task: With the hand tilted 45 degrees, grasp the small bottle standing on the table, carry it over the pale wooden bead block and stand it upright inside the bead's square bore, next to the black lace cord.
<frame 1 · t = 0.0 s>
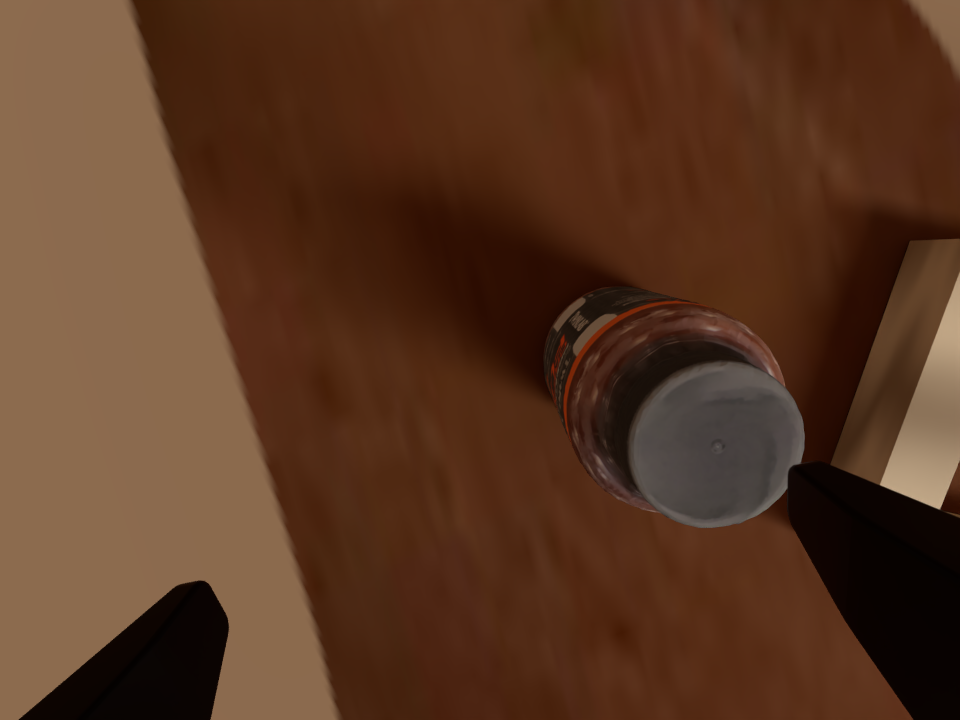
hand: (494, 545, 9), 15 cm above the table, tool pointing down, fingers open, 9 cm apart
supplement bottle: (611, 356, 24), on the table
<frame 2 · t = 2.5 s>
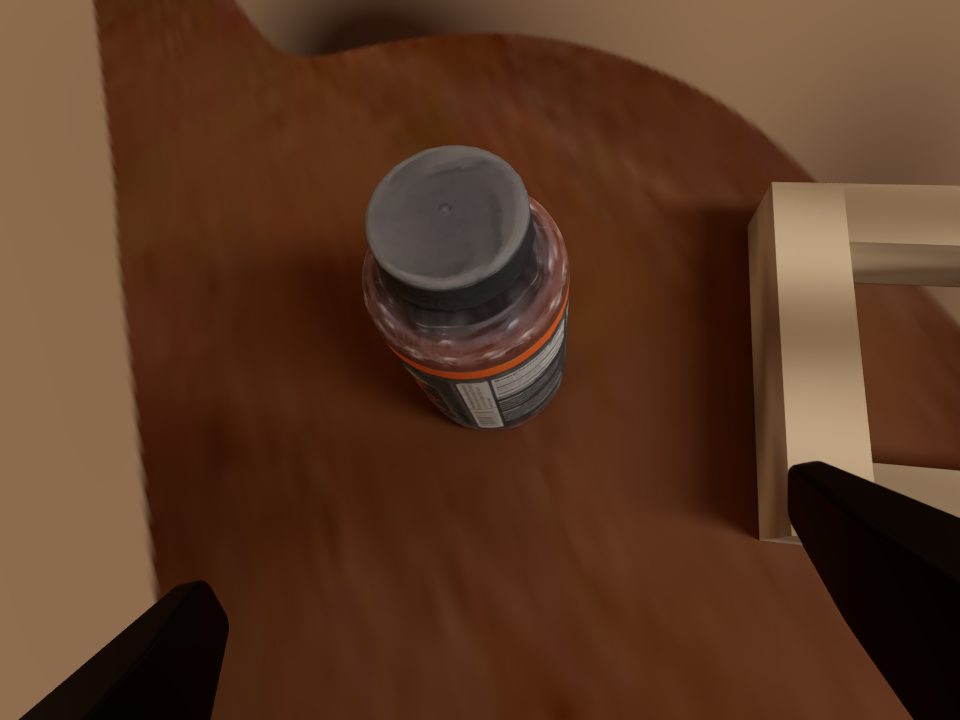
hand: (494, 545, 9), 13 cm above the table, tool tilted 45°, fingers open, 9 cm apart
supplement bottle: (494, 367, 24), on the table
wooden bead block: (936, 380, 21), on the table
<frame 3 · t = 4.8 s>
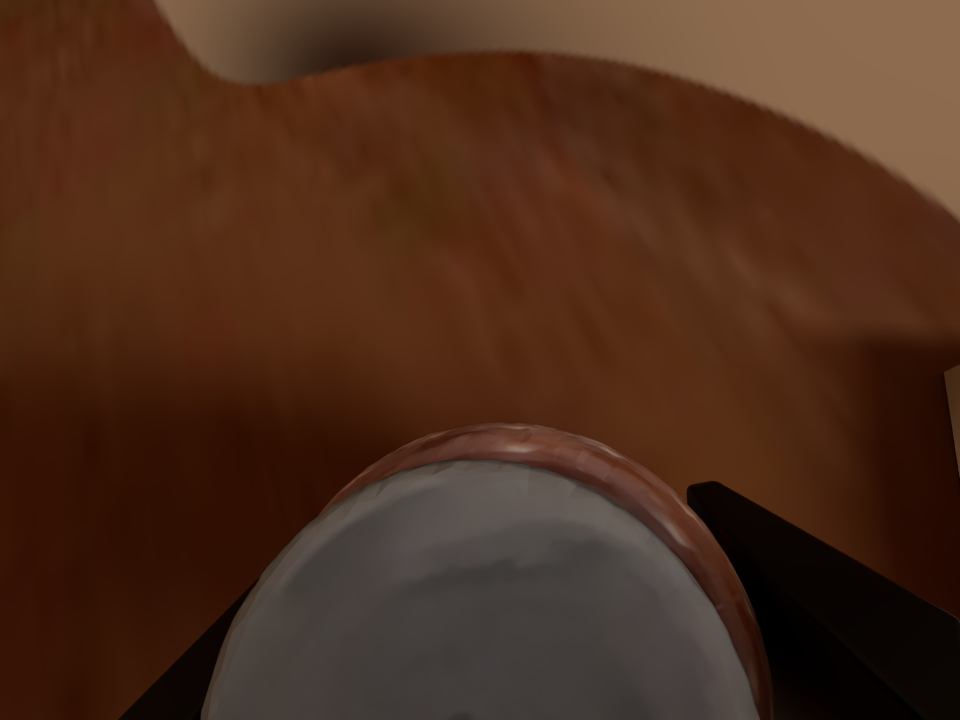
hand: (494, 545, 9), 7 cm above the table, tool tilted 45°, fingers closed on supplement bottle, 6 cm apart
supplement bottle: (531, 611, 15), on the table, touching gripper
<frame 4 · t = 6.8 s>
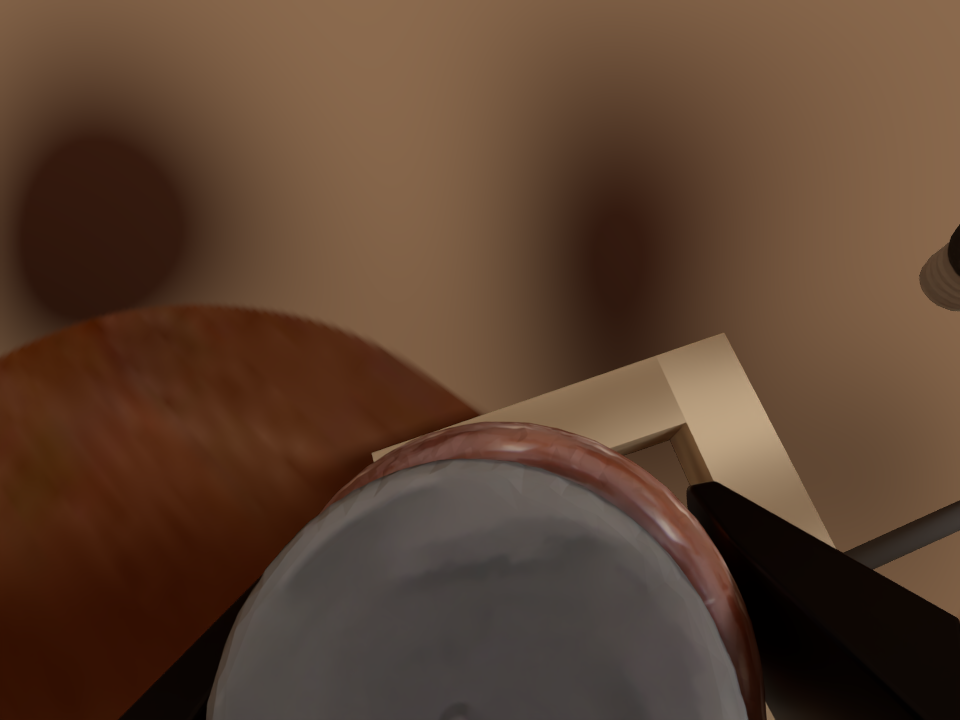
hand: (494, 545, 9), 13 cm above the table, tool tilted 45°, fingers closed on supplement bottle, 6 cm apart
supplement bottle: (529, 608, 15), point 6 cm above the table, touching gripper
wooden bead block: (610, 580, 20), on the table
light bulb: (937, 294, 23), on the table
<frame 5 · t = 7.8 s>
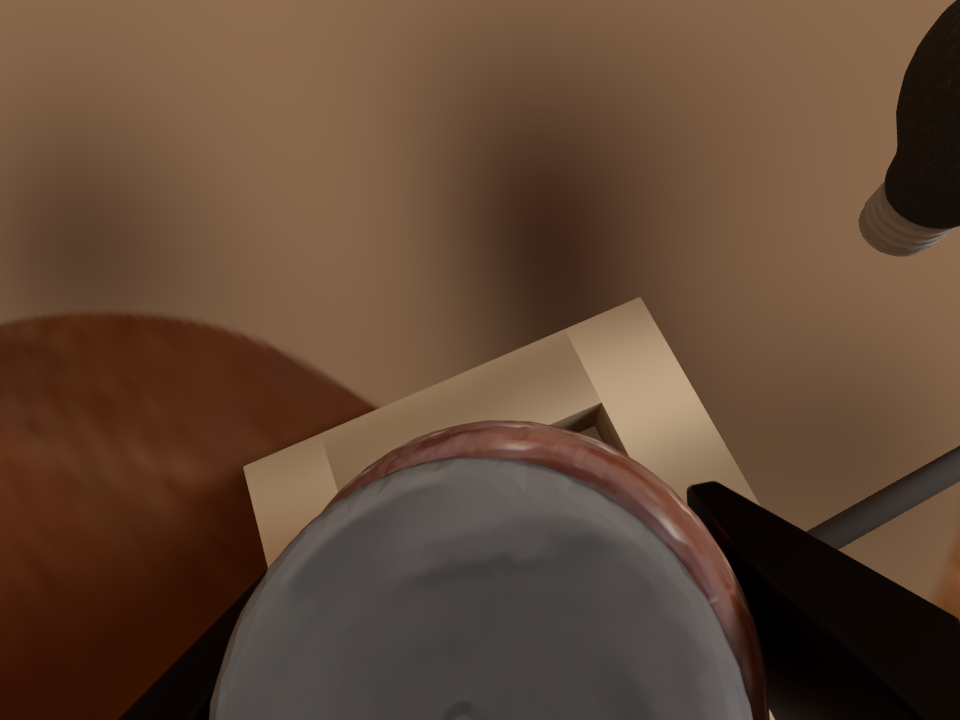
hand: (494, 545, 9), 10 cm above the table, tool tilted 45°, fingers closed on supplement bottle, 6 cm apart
supplement bottle: (530, 607, 15), point 3 cm above the table, touching gripper
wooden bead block: (534, 592, 18), on the table
light bulb: (881, 240, 20), on the table
lace cord: (946, 468, 17), on the table
when the fingers open (8 cm above the table, at t = 8.8 s): supplement bottle drops 1 cm, resting in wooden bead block.
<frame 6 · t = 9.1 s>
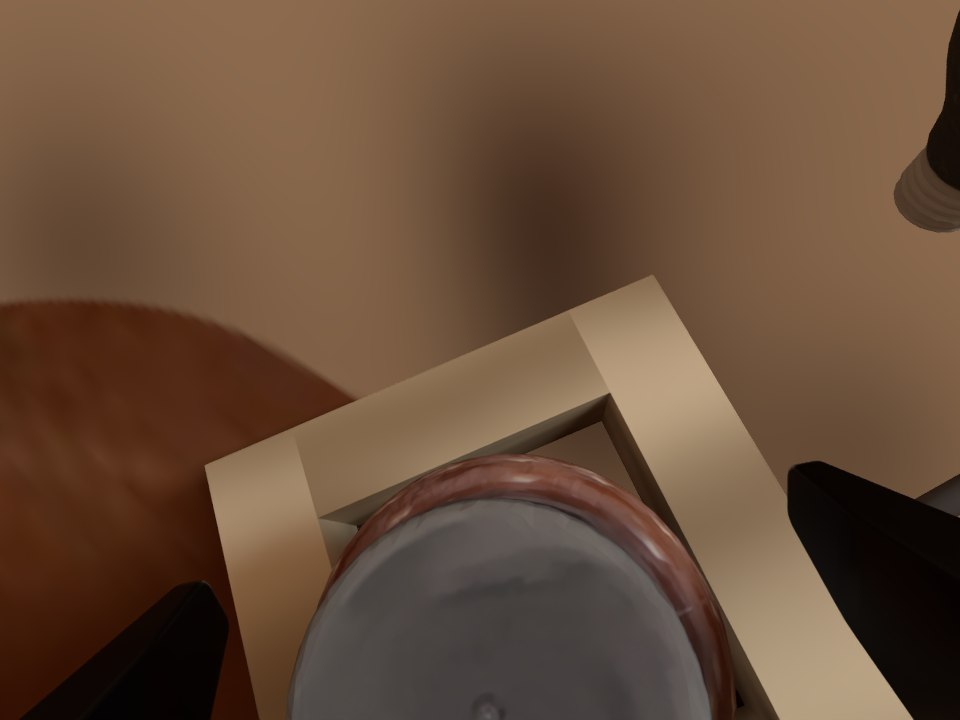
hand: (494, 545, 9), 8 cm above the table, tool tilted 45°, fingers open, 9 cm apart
supplement bottle: (533, 613, 16), resting in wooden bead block
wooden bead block: (533, 607, 16), on the table
light bulb: (917, 217, 18), on the table
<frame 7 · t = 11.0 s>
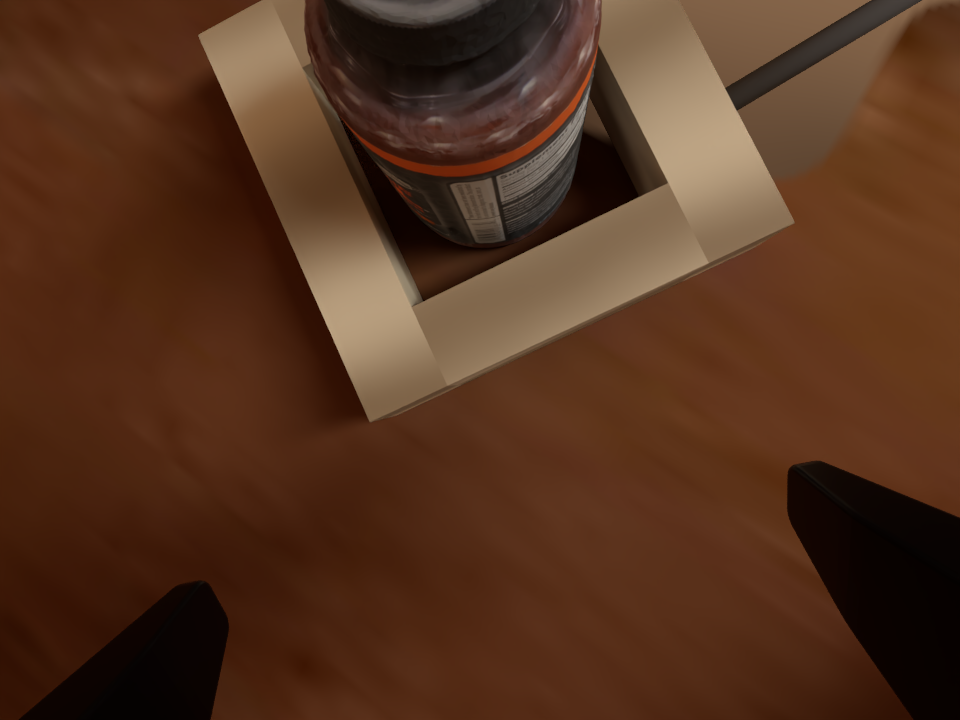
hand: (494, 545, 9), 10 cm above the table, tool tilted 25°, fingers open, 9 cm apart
supplement bottle: (488, 169, 20), resting in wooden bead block
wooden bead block: (487, 162, 19), on the table
lace cord: (874, 17, 18), on the table
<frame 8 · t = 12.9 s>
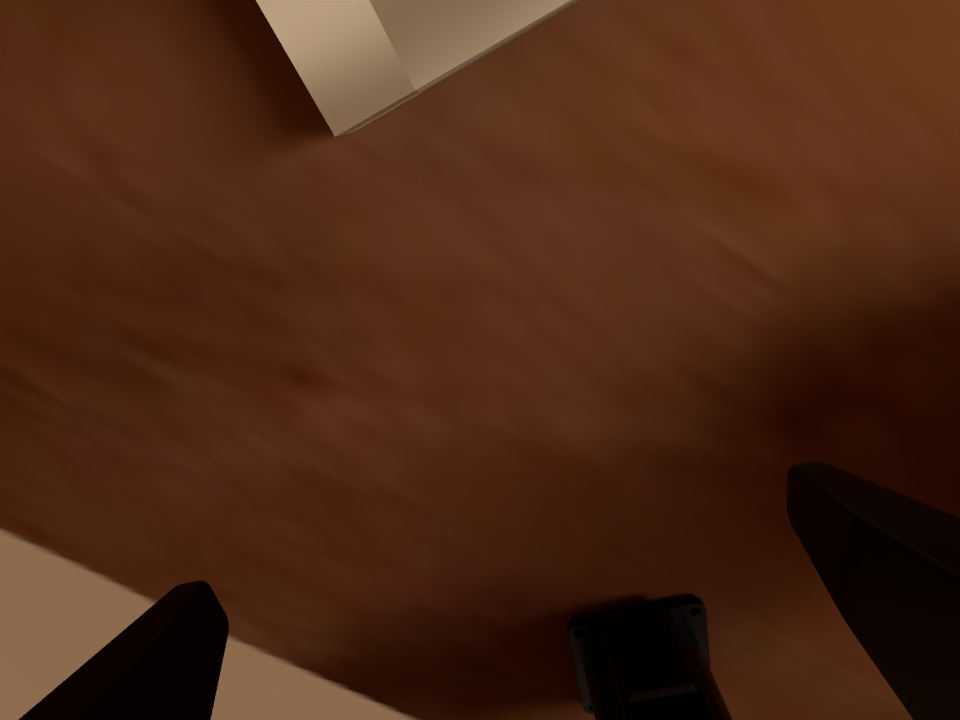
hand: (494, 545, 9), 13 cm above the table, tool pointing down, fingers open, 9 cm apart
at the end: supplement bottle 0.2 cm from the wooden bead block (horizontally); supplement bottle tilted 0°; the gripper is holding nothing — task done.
